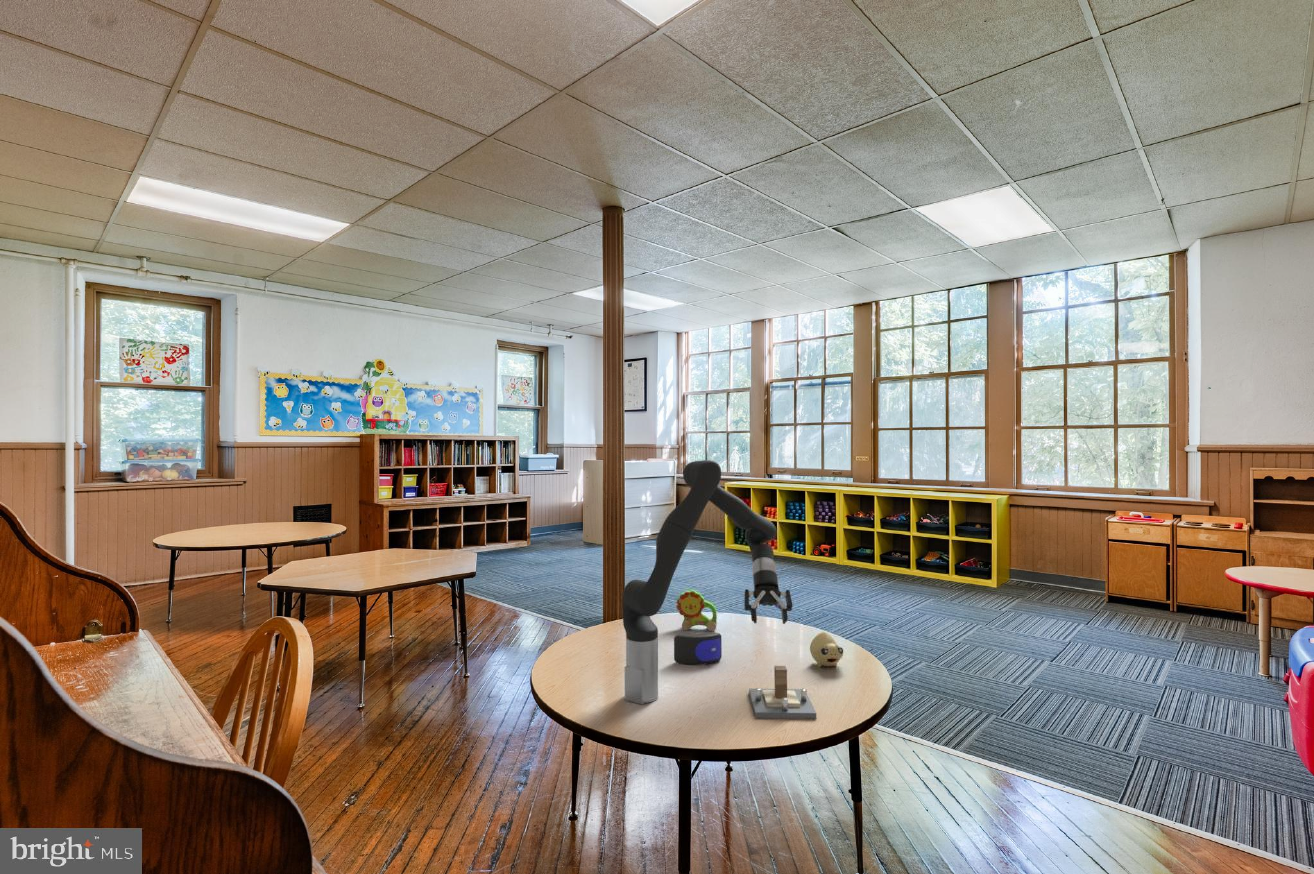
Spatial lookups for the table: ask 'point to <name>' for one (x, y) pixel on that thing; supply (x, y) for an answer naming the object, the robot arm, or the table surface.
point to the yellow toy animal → (825, 650)
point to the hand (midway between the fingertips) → (770, 622)
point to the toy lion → (695, 610)
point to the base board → (776, 712)
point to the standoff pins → (784, 700)
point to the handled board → (779, 701)
